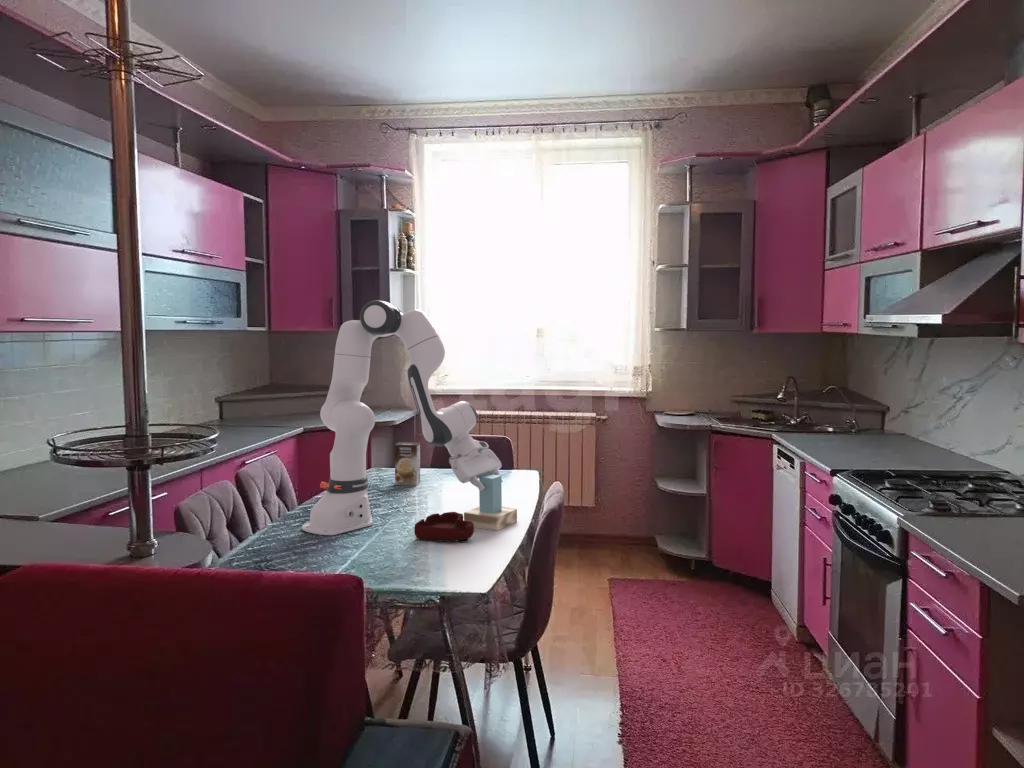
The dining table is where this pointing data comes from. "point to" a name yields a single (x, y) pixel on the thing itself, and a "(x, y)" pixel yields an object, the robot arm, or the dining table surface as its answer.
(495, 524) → the plinth
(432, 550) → the dining table surface
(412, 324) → the robot arm
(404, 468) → the coffee box
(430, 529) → the ashtray
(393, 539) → the dining table surface
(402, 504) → the dining table surface
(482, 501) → the teal block
